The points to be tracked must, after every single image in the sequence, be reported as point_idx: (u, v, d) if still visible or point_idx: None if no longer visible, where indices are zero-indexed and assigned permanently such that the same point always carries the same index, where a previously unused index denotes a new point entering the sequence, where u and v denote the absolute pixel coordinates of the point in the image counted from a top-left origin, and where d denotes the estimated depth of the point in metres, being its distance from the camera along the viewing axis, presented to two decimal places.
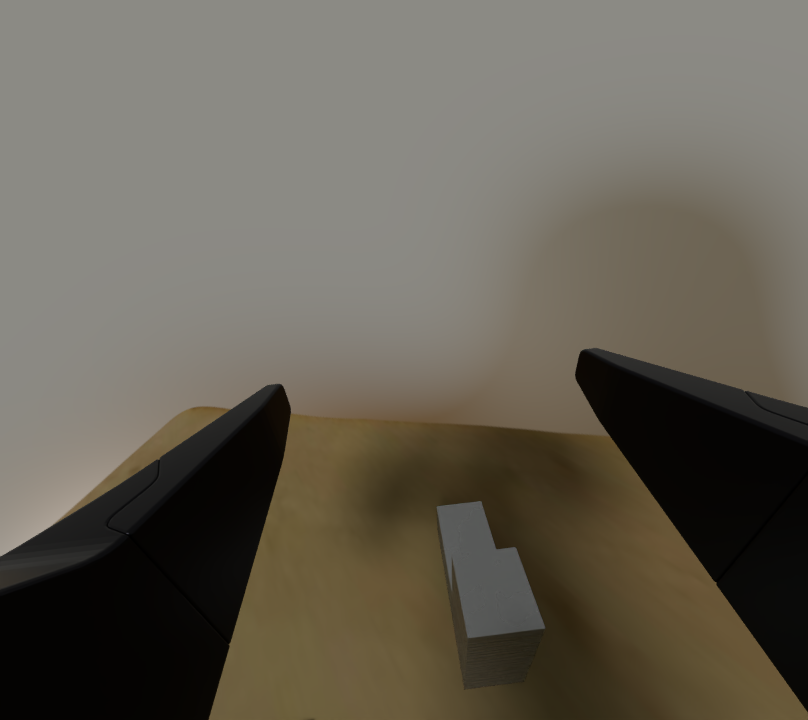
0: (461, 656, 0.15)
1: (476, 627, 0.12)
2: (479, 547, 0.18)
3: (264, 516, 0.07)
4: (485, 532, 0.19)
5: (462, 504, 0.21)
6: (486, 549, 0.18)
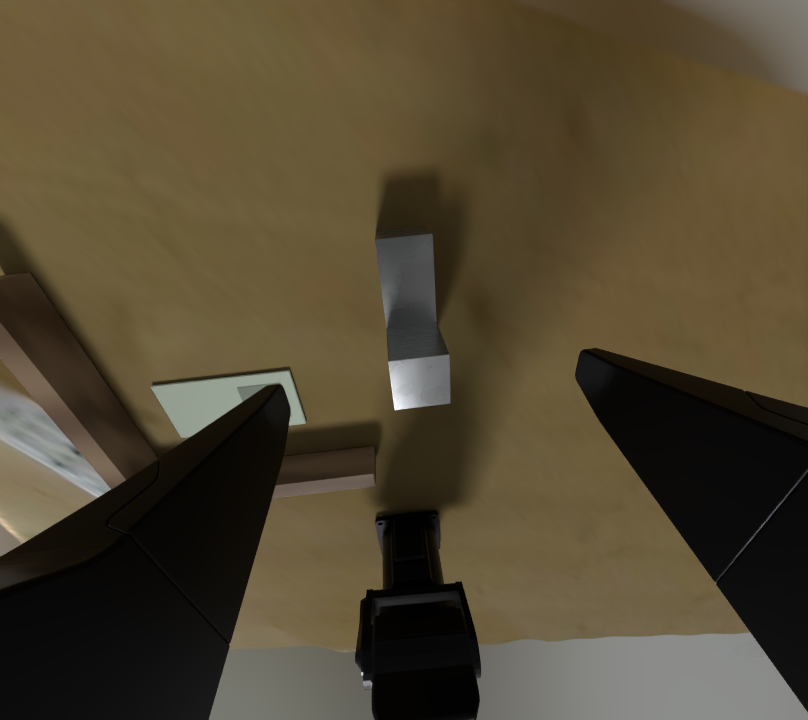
0: None
1: (401, 404, 0.16)
2: (418, 289, 0.18)
3: (264, 516, 0.08)
4: (428, 274, 0.17)
5: (408, 237, 0.16)
6: (425, 291, 0.18)
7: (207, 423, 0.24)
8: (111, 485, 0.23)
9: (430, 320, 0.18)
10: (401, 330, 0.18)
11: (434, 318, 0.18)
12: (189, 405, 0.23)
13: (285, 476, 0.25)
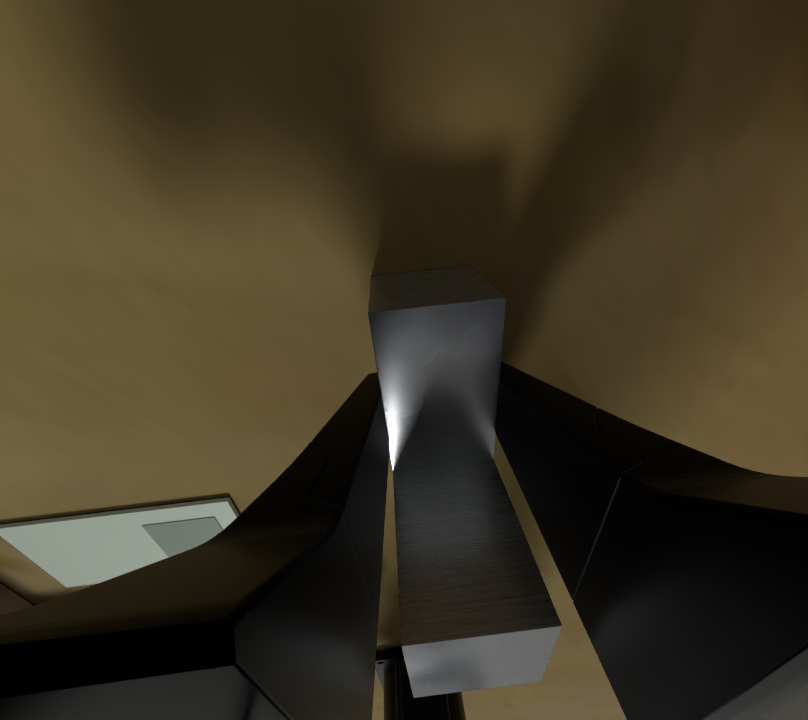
0: None
1: (430, 691, 0.07)
2: (463, 406, 0.08)
3: (385, 502, 0.08)
4: (487, 378, 0.08)
5: (447, 307, 0.07)
6: (476, 409, 0.08)
7: (104, 569, 0.15)
8: None
9: (481, 456, 0.09)
10: (424, 486, 0.09)
11: (490, 453, 0.09)
12: (67, 549, 0.14)
13: None
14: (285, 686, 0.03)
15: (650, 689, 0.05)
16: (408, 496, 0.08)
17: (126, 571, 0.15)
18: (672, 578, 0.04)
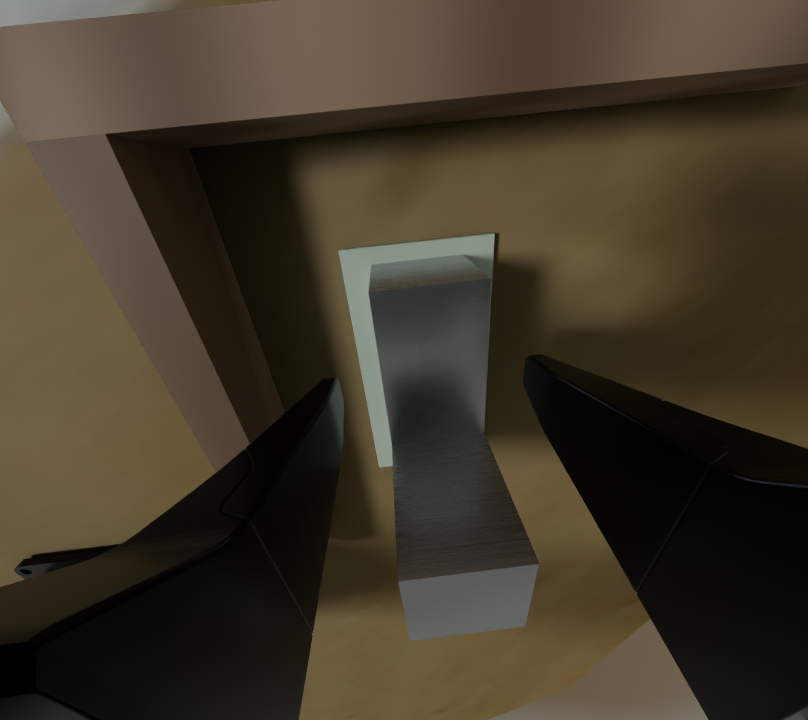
0: None
1: (425, 634, 0.08)
2: (455, 381, 0.09)
3: (332, 508, 0.08)
4: (476, 354, 0.09)
5: (439, 287, 0.08)
6: (467, 383, 0.09)
7: None
8: (185, 28, 0.05)
9: (472, 429, 0.10)
10: (420, 455, 0.09)
11: (481, 426, 0.10)
12: None
13: None
14: (129, 705, 0.03)
15: (737, 679, 0.05)
16: (405, 463, 0.09)
17: None
18: (776, 565, 0.04)
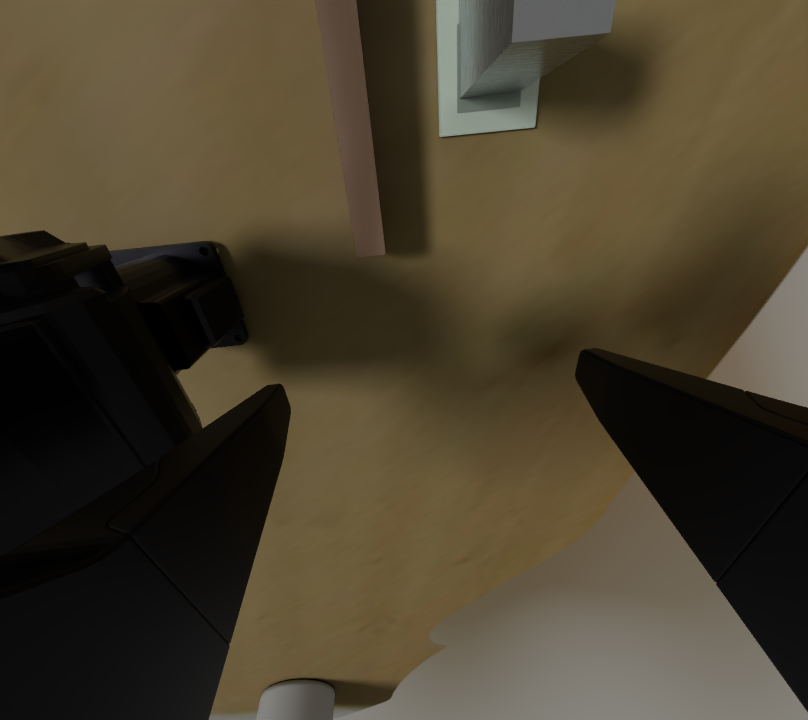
0: (469, 65, 0.13)
1: (526, 28, 0.09)
2: None
3: (264, 516, 0.08)
4: None
5: None
6: None
7: None
8: None
9: None
10: None
11: None
12: None
13: (365, 79, 0.13)
14: None
15: None
16: None
17: None
18: None
